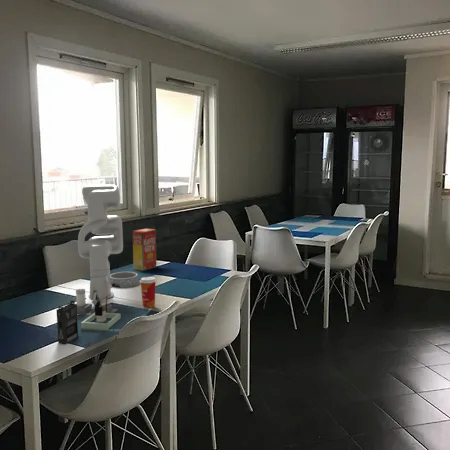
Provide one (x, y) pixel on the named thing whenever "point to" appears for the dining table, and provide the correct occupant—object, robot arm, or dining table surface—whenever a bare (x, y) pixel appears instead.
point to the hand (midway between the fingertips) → (101, 313)
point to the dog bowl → (124, 279)
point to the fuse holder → (92, 309)
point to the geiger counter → (67, 323)
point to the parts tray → (100, 326)
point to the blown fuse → (103, 305)
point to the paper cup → (148, 291)
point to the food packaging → (144, 249)
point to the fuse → (80, 298)
